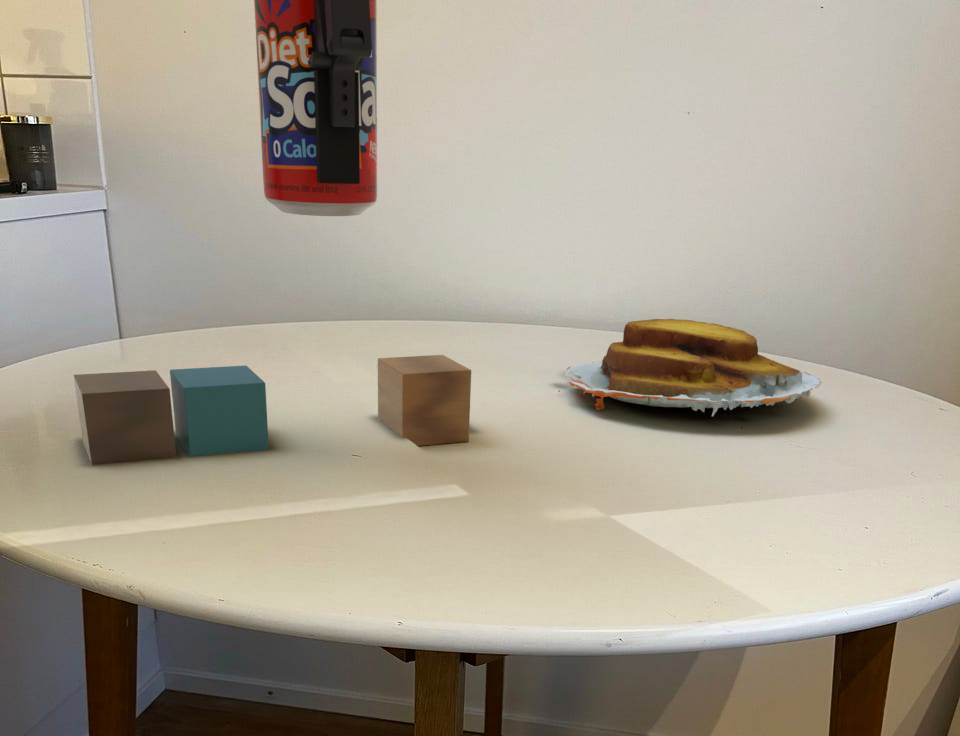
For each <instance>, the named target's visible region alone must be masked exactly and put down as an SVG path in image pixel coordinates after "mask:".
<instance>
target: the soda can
mask: <svg viewBox="0 0 960 736" xmlns="http://www.w3.org/2000/svg"><path fill="white" fill-rule="evenodd" d="M253 2H254V3H253V4H254V6H253V7H254V23H255V24H254V26H255V42H256V43H255V44H256V64H257V65H256V66H257V83H258V102H259V123H260V140H261V141H260V143H261V144H260V145H261V162H262V181H263V193H264V194H263V195H264V198H265V199H266V200H267V202H269V203H270V204H271V205H273V206H274V207H276V208H277V209H278V210H280V211H281V212H282V213H286V214H290V215H291V214H292V215H298V216H313V217H353V216H359V215H361V214H363V213H364V212H365V211H366V210H368V209H369V208H371V207H373V206H374V205H375V204H376V203H377V201H378V200H377V199H378V55H377V54H378V52H377V51H378V47H377V46H378V44H377V41H378V39H377V38H378V36H377V34H378V32H377V30H378V29H377V27H378V25H377V23H378V21H377V19H378V17H377V16H378V15H377V11H378V10H377V8H378V7H377V0H369V7H370V26H371V43H372V52H371V55H370V57H369V58H363V61H362V66H361V69H360V70H359V71H357V70H355V72H359V161H360V184H331V183H317V161H316V125H315V89H314V70H327V69H325V68H310V67H309V65H308V60H309V58H310V56H311V54H312V52H318V46H317V39H316V31H315V24H314V0H253Z"/></svg>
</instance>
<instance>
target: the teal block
mask: <svg viewBox="0 0 960 736" xmlns="http://www.w3.org/2000/svg"><path fill="white" fill-rule="evenodd" d="M169 376H170V387H171V388H170V389H171V398H172V405H173V407H172V408H173V416H174V418H173V420H174V426H175V427H174V428H175V429H174V430H175V437H177V439H178V440H179V442H180V443H181V445H182V447H183V448H184V449H185V451H186V452H187V454H188V455H189V457H200V456H211V455H213V456H214V455H223V454H234V453H245V452H246V453H247V452H257V451H268V450H270V444H269V441H270V440H269V425H268V424H269V423H268V405H267V390H266V389H267V388H266V382H265V381H264V380H263V379H262V378H260V377H259V376H258V375H257V374H256V373H255V372H254V371H253V370H252V369H251V368H250V367H249V366H248V365H245V364H244V365H229V366H228V365H227V366H211V367H210V366H209V367H194V368H192V367H191V368H175V369H173V368H172V369H169Z"/></svg>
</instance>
